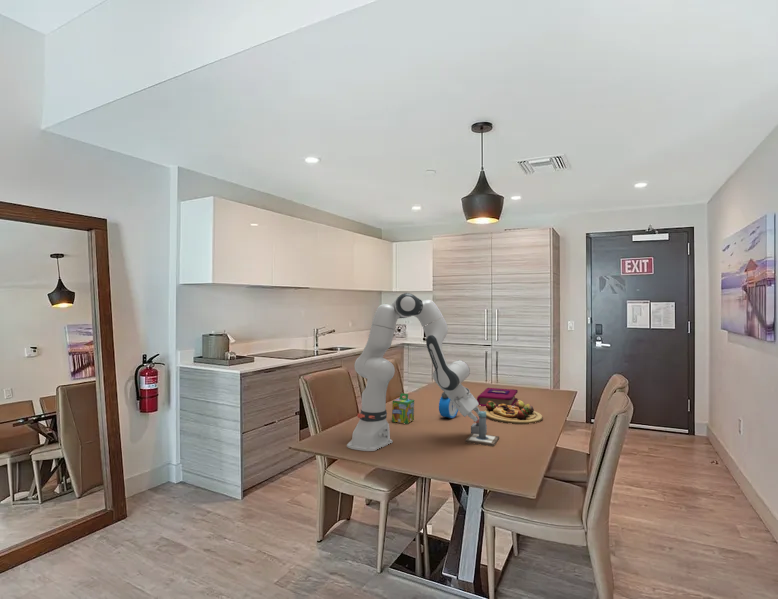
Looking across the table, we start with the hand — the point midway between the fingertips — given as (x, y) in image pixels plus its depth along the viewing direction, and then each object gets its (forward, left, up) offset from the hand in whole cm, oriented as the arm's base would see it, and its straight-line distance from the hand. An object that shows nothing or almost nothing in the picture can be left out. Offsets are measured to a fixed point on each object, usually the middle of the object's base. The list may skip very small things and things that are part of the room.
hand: (479, 418), depth 216 cm
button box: (+11, +3, -10) cm, 15 cm away
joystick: (+1, -1, -9) cm, 9 cm away
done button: (+11, +3, -7) cm, 13 cm away
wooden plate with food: (+52, -7, -11) cm, 53 cm away
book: (+83, +7, -11) cm, 84 cm away
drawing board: (0, -1, -10) cm, 10 cm away
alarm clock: (+34, +25, -10) cm, 44 cm away
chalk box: (+16, +45, -10) cm, 49 cm away
